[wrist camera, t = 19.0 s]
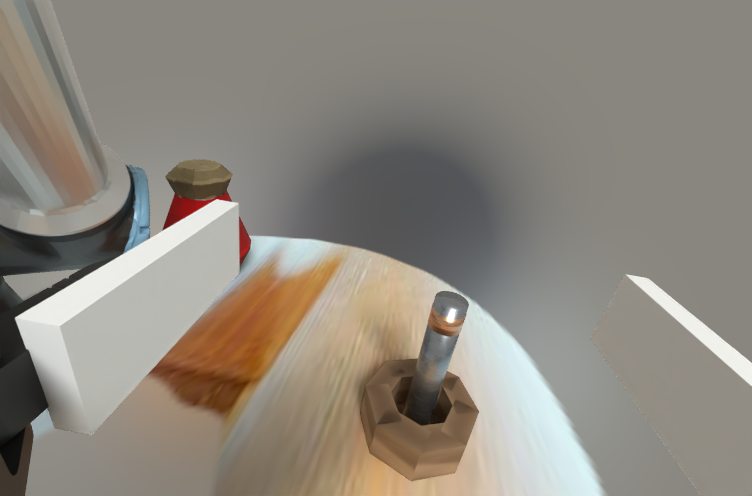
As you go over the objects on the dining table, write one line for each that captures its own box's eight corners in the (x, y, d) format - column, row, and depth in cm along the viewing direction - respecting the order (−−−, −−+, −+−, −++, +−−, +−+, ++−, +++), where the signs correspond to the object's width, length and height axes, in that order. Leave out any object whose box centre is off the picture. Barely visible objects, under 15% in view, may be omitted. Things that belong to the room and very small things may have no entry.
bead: (354, 389, 45) (358, 363, 43) (438, 381, 48) (446, 356, 46) (378, 487, 34) (386, 458, 32) (483, 467, 38) (496, 440, 36)
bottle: (205, 313, 53) (197, 186, 44) (137, 286, 56) (116, 162, 47) (267, 269, 67) (270, 166, 58) (209, 250, 70) (204, 149, 61)
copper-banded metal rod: (396, 415, 42) (429, 291, 34) (421, 412, 43) (459, 290, 35) (405, 440, 39) (443, 311, 31) (431, 436, 40) (475, 310, 32)
